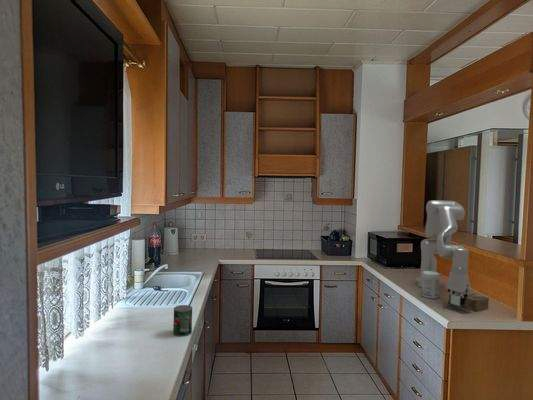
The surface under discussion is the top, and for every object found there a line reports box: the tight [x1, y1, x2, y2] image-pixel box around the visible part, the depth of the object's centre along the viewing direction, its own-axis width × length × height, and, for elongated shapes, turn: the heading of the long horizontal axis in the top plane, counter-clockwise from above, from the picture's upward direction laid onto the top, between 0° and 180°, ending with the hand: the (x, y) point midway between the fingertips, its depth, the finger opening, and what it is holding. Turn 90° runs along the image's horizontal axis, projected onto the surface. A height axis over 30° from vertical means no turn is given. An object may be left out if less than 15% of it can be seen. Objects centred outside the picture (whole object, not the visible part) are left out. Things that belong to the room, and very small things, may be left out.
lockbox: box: [448, 291, 490, 312], centre depth 224 cm, size 16×12×6 cm
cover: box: [449, 293, 462, 307], centre depth 216 cm, size 5×5×6 cm
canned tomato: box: [172, 304, 193, 337], centre depth 171 cm, size 8×8×11 cm
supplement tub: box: [421, 271, 440, 300], centre depth 239 cm, size 10×10×15 cm
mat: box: [442, 304, 472, 315], centre depth 217 cm, size 12×7×1 cm, turn 33°
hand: (457, 302), depth 216 cm, fingers closed on cover, 5 cm apart
